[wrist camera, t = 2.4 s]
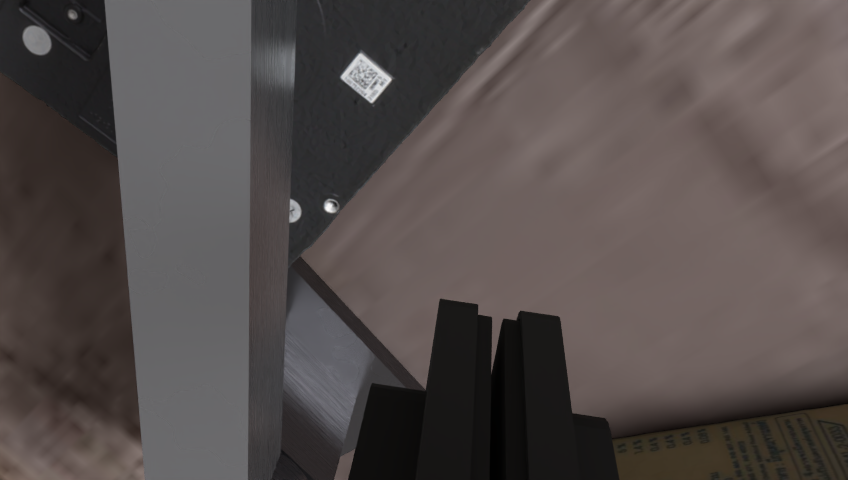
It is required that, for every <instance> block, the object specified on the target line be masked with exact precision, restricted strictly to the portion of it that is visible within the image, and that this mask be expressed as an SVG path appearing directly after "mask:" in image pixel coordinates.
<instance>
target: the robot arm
mask: <svg viewBox="0 0 848 480" xmlns="http://www.w3.org/2000/svg"><path fill="white" fill-rule="evenodd" d="M491 352H492V317H489V316H483V315H478V304H472V303H465V302H458V301H452V300H445V299H440V301H439V308H438V314H437V321H436V327H435V334H434V340H433V347H432V353H431V360H430V366H429V373H428V379H427V386H426V391H421V390H415V389H408V388H402V387H395V386H388V385H382V384H375V383H372V384H371V386H370V390H369V394H368V398H367V403H366V407H365V411H364V415H363V419H362V424H361V428H360V432H359V436H358V441H357V445H356V449H355V453H354V458H353V462H352V466H351V470H350V475H349V479H348V480H620V479H619V474H618V469H617V463H616V458H615V453H614V447H613V442H612V437H611V431H610V428H609V424H608V422H607V420H606V419H605V418H599V417H593V416H586V415H580V414H573V413H572V409H571V401H570V393H569V385H568V377H567V369H566V361H565V353H564V345H563V337H562V329H561V321H560V317H558V316H552V315H546V314H539V313H532V312H525V311H520V312H519V314H518V317H517V321H516V320H509V319H503V322H502V325H501V330H500V335H499V340H498V345H497V350H496V355H495V359H494V364H493V369H492V374H491Z"/></svg>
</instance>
